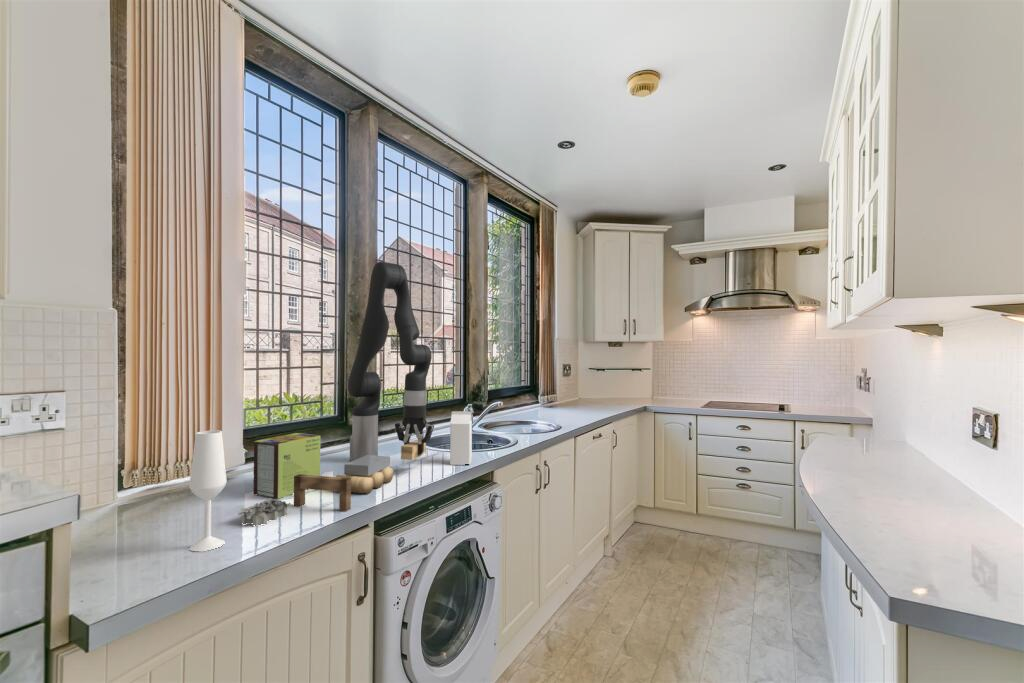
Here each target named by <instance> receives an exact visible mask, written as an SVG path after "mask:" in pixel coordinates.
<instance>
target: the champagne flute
mask: <svg viewBox="0 0 1024 683" xmlns="http://www.w3.org/2000/svg"><path fill="white" fill-rule="evenodd" d="M224 450H225V449H224V441H223V431H222V430H217V429H214V430H202V431H198V432H195V437H194V445H193V452H192V453H193V454H192V460H191V461H192V462H191V471H190V477H189V486H188V487H189V489H190V491H191V493H192V494H193V495H195V496H197V497H198V498H199V499H201V500H203V501H204V522H203V523H204V525H203V526H204V531H203V532H204V534H203V536H204V537H202V538H200V540H197V542H195V543H194V544H192V545H190V546H189V547H190V549H191V550H193V551H206V552H208V551H207V550H211V549H214V550H216V549H215V548H217V549H219V548H218V547H220V548H221V546H222V545H223V544H225V545H226V543H225V542H226V541H225V540H223V539H220V538H218V537H215V536H212V500H213V499H214V498H215V497H217V496H218V495H219V494H220V493H221V492H222V491H223V490H224V488H225V487H226V485H227V472H226V460H225V451H224ZM223 546H224V545H223ZM223 546H222V547H223ZM211 551H212V550H211Z"/></svg>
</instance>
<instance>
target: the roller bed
mask: <svg viewBox="0 0 1024 683" xmlns="http://www.w3.org/2000/svg"><path fill="white" fill-rule="evenodd" d="M335 477H341V478H351V493H357V494H370V493H371V492H372V491H373V488H377V489H379V488H381V487H382V486H383V484H384V483H387V484H388V483H391V482H392V481H393V477H394V470H393V468H392V467H387V468H384V469H382V470H380V471H378V472H376V473H374V474H372V475H370V476H359V475H346V474H344V475H342V474H337V475H336V476H335Z"/></svg>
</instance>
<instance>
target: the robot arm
mask: <svg viewBox="0 0 1024 683" xmlns="http://www.w3.org/2000/svg"><path fill="white" fill-rule="evenodd" d="M386 290H393V291H394V294H395V295H396V300H397V301H396V306H395V311H394V314H393V319H394V320H393V321H394V325H395V327H396V332H397V335H398V339H399V341H398V342H399V356H400V359H401V361H402V363H403V364H404V365H405V366H414V369H413V370H412V371H409V372H408V373H406V374H405V377H404V394H403V408H402V409H403V411H402V412H403V414H402V415H403V416H402V417H403V420H402V421H400V422H397V423H396V422H395V423H394V428H395V431H396V435H397V439H398V440H399V441H401V442H403V445H405V444H408V443H410V442H411V441H410V440H411V438H412V435H413V434H414V435H415V436H416V438H417V440H418V443H419V444H418V455H421V454H422V453H423V452H424V443H426V444H427V442H430V440H431V437H432V435H433V432H434V428H435V426H434V425H435V424H429V423H428V422H427V420H426V418H427V402H428V401H427V376H428V373H429V369H430V366H431V363H432V358H433V356H432V355H433V354H432V351H431V348H430V347H429V346H427V344H414V341H415V340H418V338H419V337H420V329H419V326H418V323H417V321H416V317H415V315H414V314H415V313H414V311H413V308H412V307H413V306H412V301H411V293H410V288H409V283H408V275H407V272H406V270H405V268H404V266H402V265H401V264H398V263H393V262H387V261H377V262H376V263H375V264H374V266H373V268H372V270H371V274H370V280H369V291H368V298H367V299H368V300H367V304H366V309H365V314H364V319H363V323H362V325H361V326H362V327H361V330H360V331H361V332H360V336H359V342H358V345H357V350H356V353H355V354H356V355H355V358H354V361H353V364H352V367H351V369H350V370H351V371H350V373H349V376H348V381H347V391H348V394H349V395H350V396H351V397H353V398H363V400H362V401H361V402H360V403H359V404H358V405H355V406H354V407H353V408H352V412H351V413H352V420H351V421H352V424H351V425H352V427H351V428H352V429H351V430H352V434H351V435H350V436H349V462H350V461H354V460H356V459H359V458H362V457H364V456H367V455H375V456H379V453H378V451H379V408H380V405H381V389H382V388H381V385H382V384H381V378H380V375H379V374H378V373H377V372H376V371H367V370H368V368H369V365H370V363H371V362H372V360H373V359H374V358H375V356H376V355H377V354H378V353H379V352H380V351H381V350H382V349H383V347H384V345H385V343H386V341H387V338H388V334H389V329H390V322H389V318H388V314H387V311H386V309H385V306H384V295H385V291H386ZM404 429H405V432H404ZM424 430H425V431H426V433H424ZM421 456H422V455H421Z"/></svg>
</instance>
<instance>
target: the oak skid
mask: <svg viewBox="0 0 1024 683" xmlns="http://www.w3.org/2000/svg"><path fill="white" fill-rule="evenodd" d="M409 442H410V443H408V444H405V445H404V444H403V445H401V446H400V449H401V450H400V460H406V461H413V460H415V459H417V458H419V457H421V456H423V455H425V454H427V442H426V443H424V452H423V453H422V454H421V455H418V444H419V443H418V439H415V440H412V441H409Z"/></svg>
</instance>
